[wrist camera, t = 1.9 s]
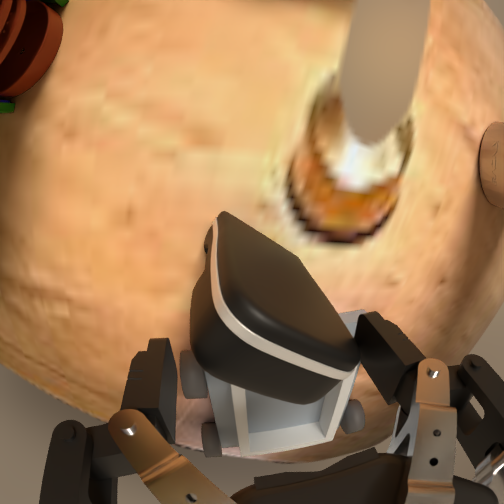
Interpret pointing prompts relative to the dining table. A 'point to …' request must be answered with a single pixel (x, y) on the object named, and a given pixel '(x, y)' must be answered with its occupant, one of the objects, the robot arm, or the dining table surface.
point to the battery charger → (266, 319)
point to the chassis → (270, 411)
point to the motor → (26, 44)
